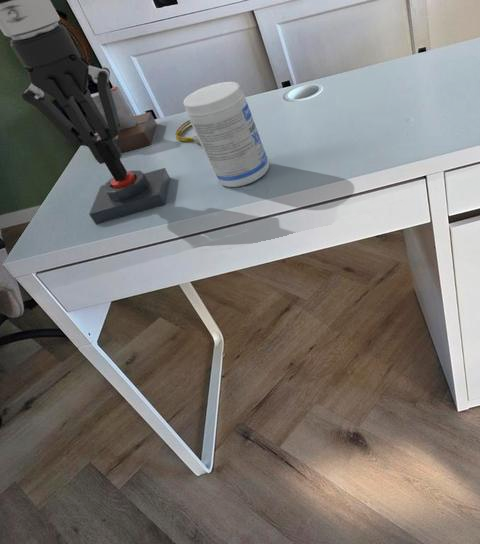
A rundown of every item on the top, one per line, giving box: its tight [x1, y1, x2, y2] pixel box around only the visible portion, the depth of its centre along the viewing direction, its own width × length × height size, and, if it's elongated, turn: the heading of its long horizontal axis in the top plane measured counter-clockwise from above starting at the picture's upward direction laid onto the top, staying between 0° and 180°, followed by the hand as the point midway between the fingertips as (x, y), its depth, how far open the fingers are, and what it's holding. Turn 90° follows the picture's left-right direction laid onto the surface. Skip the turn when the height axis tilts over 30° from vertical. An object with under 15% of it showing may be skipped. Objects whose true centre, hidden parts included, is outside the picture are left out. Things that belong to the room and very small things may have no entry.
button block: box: [88, 167, 171, 225], centre depth 85 cm, size 12×10×4 cm
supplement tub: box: [182, 81, 270, 188], centre depth 81 cm, size 10×10×15 cm
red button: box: [110, 171, 136, 188], centre depth 84 cm, size 4×4×2 cm
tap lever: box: [90, 85, 137, 130], centre depth 104 cm, size 7×2×8 cm, turn 102°
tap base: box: [89, 111, 157, 160], centre depth 108 cm, size 12×12×3 cm
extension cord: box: [175, 120, 201, 146], centre depth 103 cm, size 12×16×2 cm
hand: (121, 176), depth 83 cm, fingers closed
